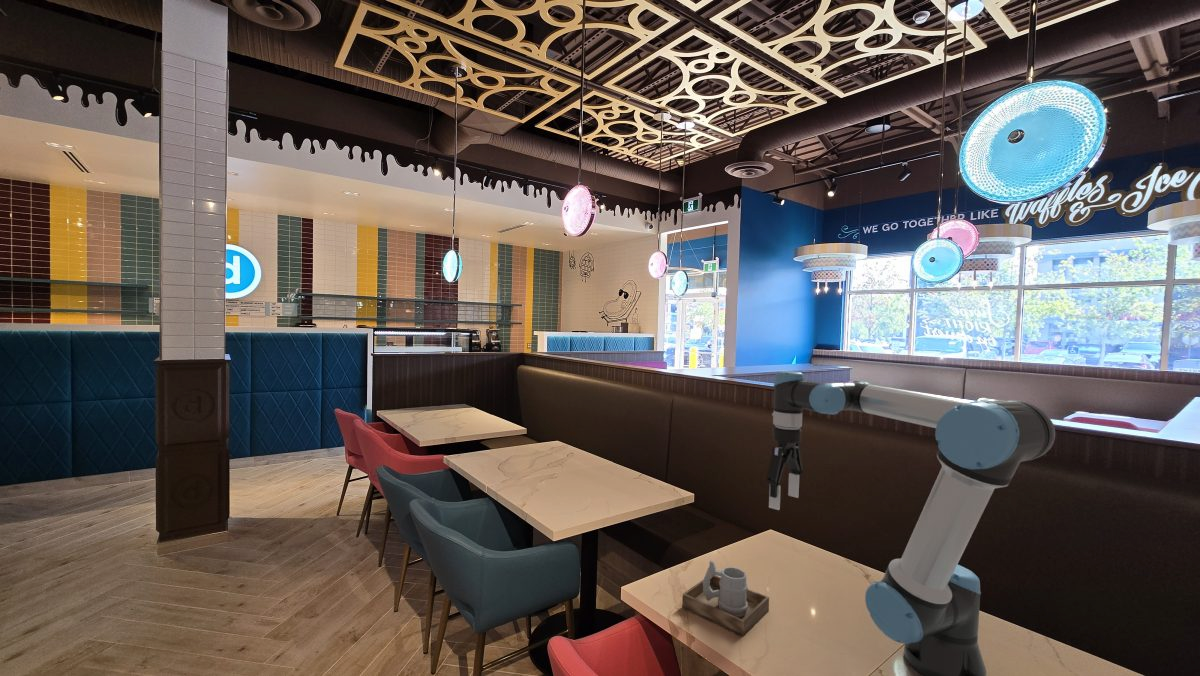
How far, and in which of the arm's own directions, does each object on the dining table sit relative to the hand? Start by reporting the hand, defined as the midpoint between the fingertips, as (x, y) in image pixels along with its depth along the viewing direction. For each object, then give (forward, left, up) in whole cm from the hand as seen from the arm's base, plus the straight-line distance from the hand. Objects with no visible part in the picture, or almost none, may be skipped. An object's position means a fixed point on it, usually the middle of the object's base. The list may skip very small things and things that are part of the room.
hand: (784, 502), depth 137 cm
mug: (+8, +18, -26) cm, 33 cm away
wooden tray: (+8, +17, -27) cm, 33 cm away
